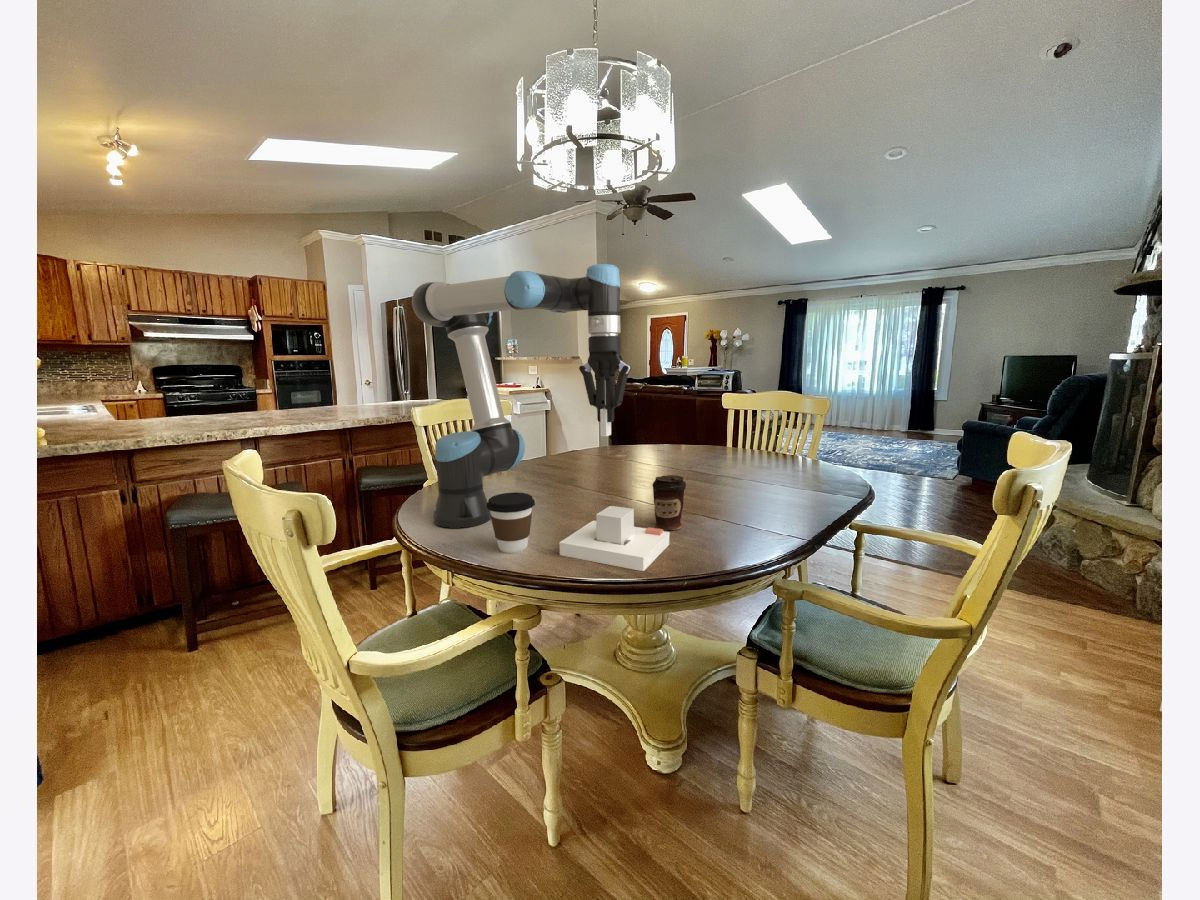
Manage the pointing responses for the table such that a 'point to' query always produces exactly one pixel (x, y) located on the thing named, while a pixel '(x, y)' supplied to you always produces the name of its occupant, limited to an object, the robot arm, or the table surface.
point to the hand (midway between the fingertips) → (606, 435)
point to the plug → (615, 524)
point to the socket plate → (616, 547)
